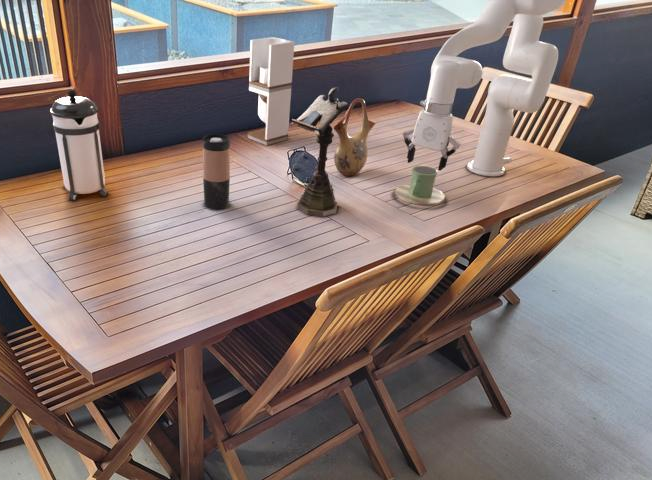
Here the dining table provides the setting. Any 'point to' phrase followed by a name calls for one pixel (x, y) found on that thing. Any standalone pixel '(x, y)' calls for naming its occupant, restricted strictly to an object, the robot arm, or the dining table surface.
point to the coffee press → (79, 145)
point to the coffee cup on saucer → (421, 188)
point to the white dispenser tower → (271, 86)
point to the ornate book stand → (320, 154)
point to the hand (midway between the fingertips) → (425, 165)
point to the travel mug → (216, 170)
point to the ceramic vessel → (352, 143)
